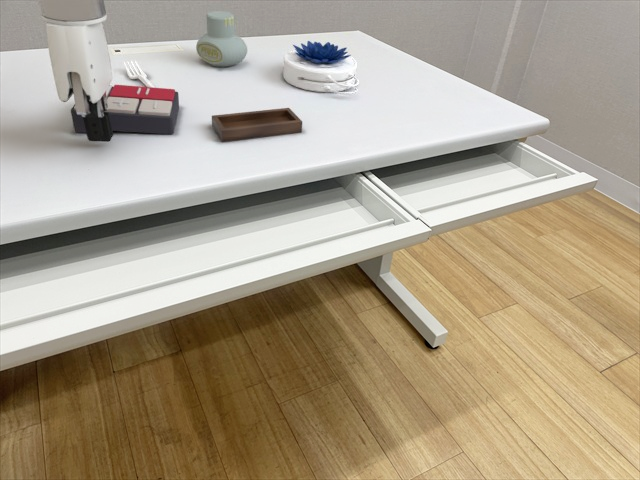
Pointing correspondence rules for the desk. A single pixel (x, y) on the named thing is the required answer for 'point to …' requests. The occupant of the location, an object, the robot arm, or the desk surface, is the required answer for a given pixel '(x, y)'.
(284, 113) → the pen tray
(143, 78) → the fork
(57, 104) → the desk surface
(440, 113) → the desk surface
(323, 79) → the box with blue lotus
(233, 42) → the air freshener
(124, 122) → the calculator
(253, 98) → the desk surface
